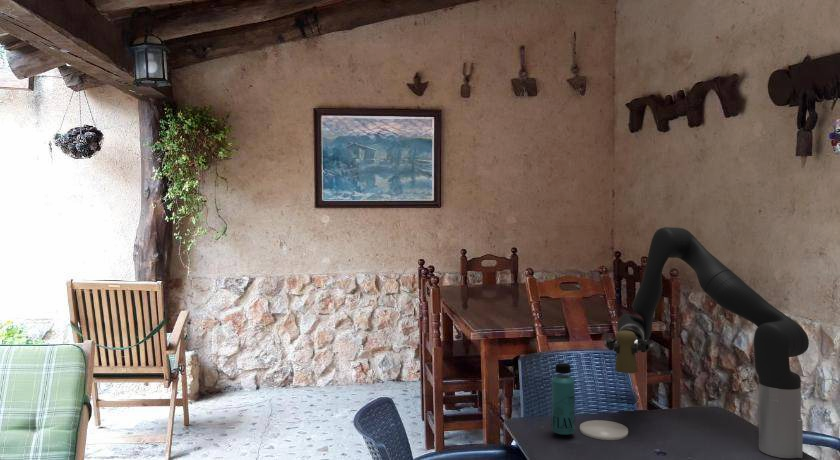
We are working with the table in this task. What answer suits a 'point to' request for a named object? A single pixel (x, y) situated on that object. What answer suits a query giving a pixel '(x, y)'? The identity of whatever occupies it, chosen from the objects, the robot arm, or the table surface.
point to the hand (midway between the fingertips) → (625, 350)
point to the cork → (626, 352)
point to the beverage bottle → (563, 401)
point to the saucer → (604, 430)
